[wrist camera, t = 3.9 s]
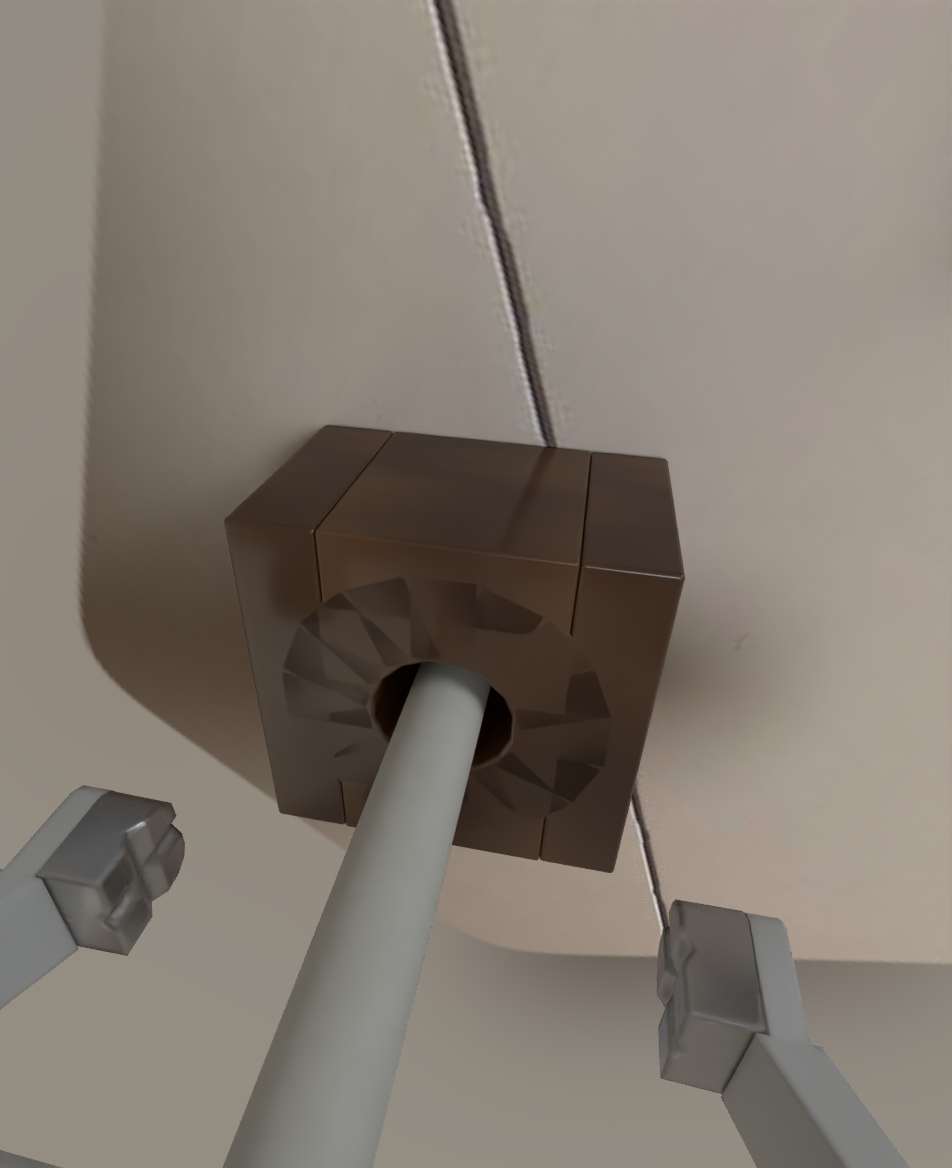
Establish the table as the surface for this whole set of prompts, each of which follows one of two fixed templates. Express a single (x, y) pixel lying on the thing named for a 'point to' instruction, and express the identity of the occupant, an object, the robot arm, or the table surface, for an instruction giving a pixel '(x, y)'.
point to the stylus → (368, 945)
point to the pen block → (462, 624)
